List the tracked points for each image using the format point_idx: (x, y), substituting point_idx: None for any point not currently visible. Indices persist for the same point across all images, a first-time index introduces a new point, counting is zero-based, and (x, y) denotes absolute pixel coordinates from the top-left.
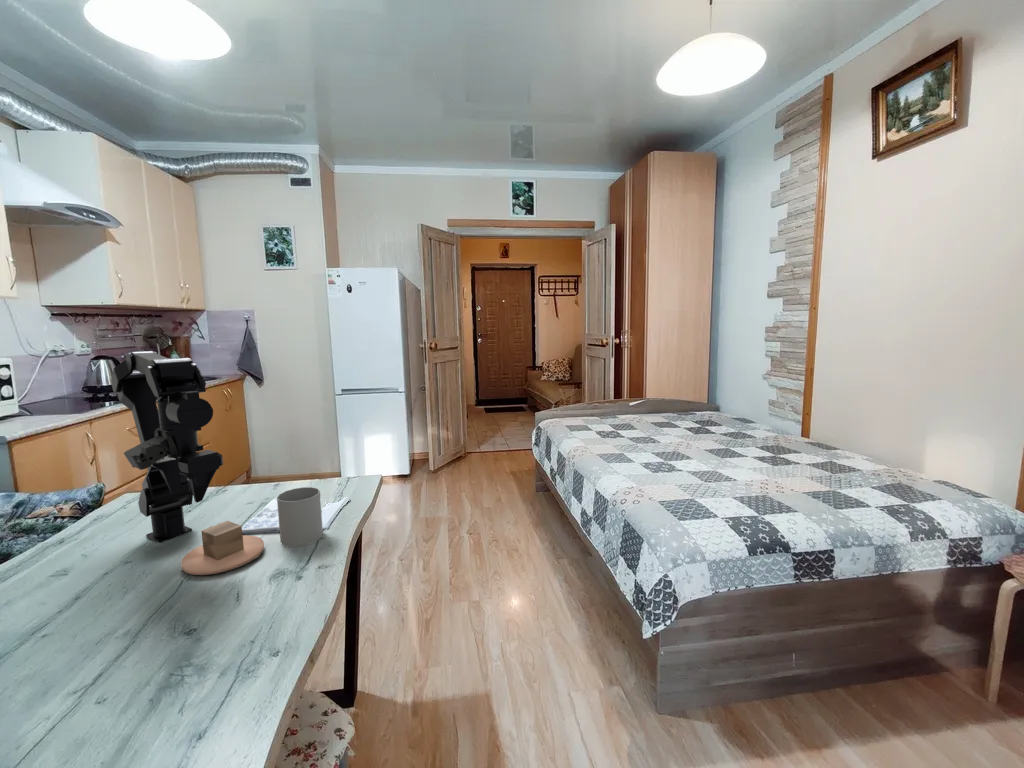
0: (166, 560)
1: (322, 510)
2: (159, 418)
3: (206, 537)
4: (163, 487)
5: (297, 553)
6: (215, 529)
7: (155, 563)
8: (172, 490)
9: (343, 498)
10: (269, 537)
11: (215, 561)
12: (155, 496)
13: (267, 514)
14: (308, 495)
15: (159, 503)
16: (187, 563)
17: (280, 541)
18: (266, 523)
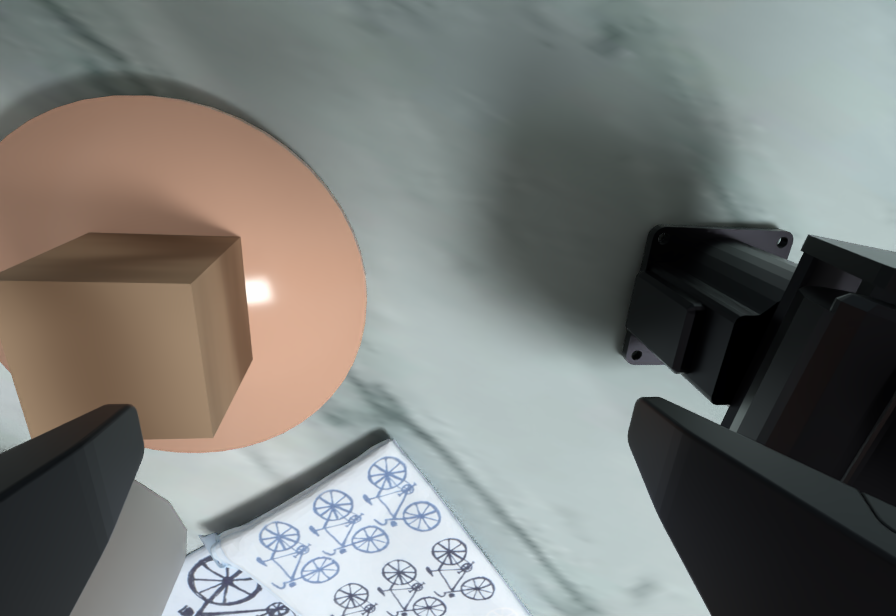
0: (439, 143)
1: None
2: None
3: (138, 269)
4: (876, 427)
5: None
6: (119, 337)
7: (458, 98)
8: (657, 423)
9: None
10: (230, 479)
11: (90, 221)
12: (851, 328)
13: (431, 574)
14: None
15: (787, 320)
16: (200, 136)
17: (134, 482)
18: (336, 533)
